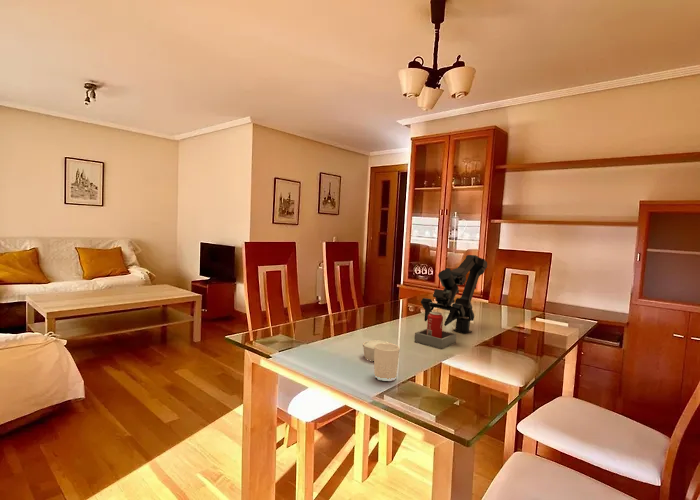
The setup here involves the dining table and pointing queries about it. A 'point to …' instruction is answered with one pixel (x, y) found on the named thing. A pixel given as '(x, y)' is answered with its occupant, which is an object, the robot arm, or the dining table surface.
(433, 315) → the beverage can
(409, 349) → the dining table surface
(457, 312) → the robot arm
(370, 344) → the ramekin
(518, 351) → the dining table surface
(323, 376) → the dining table surface
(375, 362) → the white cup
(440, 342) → the tray
